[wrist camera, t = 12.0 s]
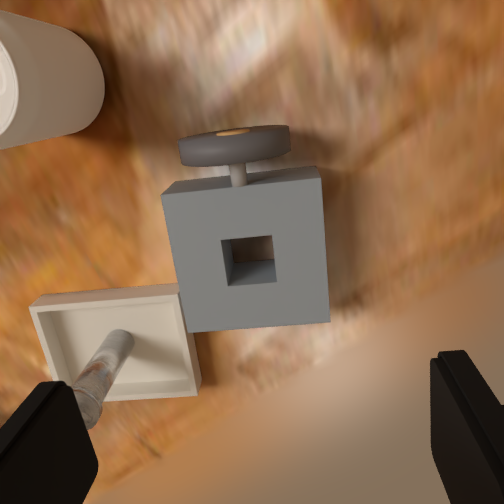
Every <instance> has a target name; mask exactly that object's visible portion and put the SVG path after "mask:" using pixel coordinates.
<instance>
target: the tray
mask: <svg viewBox="0 0 504 504" xmlns="http://www.w3.org/2000/svg"><path fill="white" fill-rule="evenodd" d="M29 310H30V313H31V316H32V319H33V322H34V325H35V328H36V331H37V334H38V337H39V340H40V343H41V346H42V348H43V351H44V354H45V357H46V360H47V363H48V366H49V369H50V372H51V375H52V378H53V381H64V382H65V383H66V384H67V386H72V385H73V383H74V382H75V381H76V379H77V378H78V376H79V375H80V373H81V372H82V371H83V369H84V368H85V366H86V365H87V363H88V362H89V361H90V359H91V358H92V356H93V355H94V353H95V352H96V351H97V349H98V348H99V346H100V345H101V344H102V342H103V341H104V339H105V338H106V336H107V335H108V334H109V332H111V331H112V330H115V329H122V330H125V331H127V332H129V333H130V334H131V335H132V337H133V338H134V342H135V344H134V348H133V349H132V351H131V353H130V355H129V356H128V358H127V360H126V362H125V364H124V365H123V367H122V369H121V371H120V372H119V374H118V376H117V378H116V379H115V381H114V383H113V385H112V386H111V388H110V390H109V392H108V393H107V395H106V397H105V399H104V400H103V401H120V400H136V399H152V398H169V397H185V396H198V393H199V389H200V385H201V382H202V377H201V371H200V366H199V361H198V356H197V351H196V346H195V340H194V335H193V333H188V331H187V326H186V321H185V316H184V311H183V306H182V301H181V296H180V291H179V286H178V283H172V284H160V285H149V286H137V287H126V288H114V289H103V290H91V291H80V292H68V293H57V294H45V295H42V296H40V297H39V298H38V299H37V300H36V301H35V302H34V303H32V304H31V305H30V306H29Z"/></svg>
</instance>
